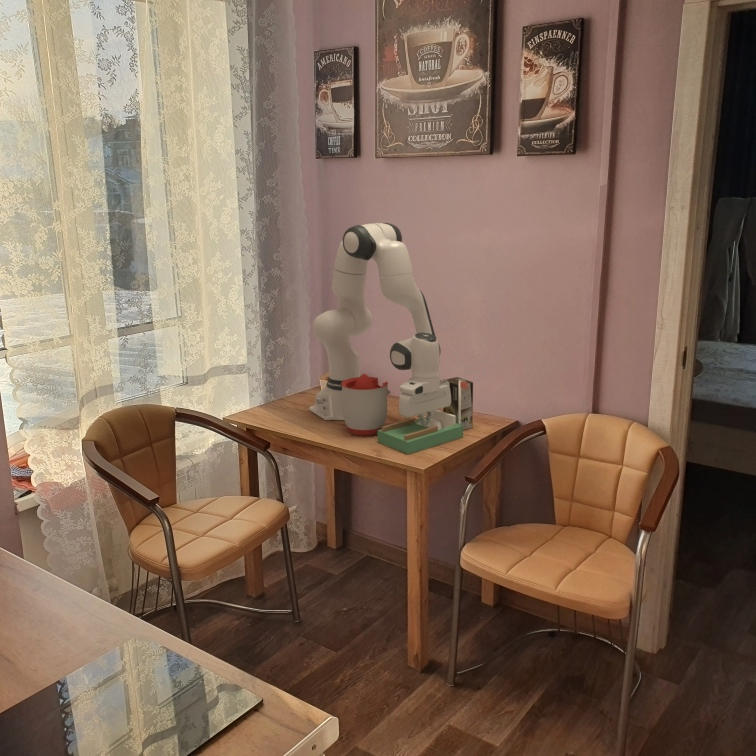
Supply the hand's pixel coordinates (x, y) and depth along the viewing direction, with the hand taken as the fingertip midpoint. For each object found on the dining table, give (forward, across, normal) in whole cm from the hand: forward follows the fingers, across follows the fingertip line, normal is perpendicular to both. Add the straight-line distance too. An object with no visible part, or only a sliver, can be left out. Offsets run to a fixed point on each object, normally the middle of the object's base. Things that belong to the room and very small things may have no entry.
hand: (425, 424), depth 254 cm
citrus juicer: (+5, +9, -19) cm, 22 cm away
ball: (+2, -2, -1) cm, 3 cm away
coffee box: (+5, -17, -2) cm, 18 cm away
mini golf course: (+5, +2, 0) cm, 5 cm away
